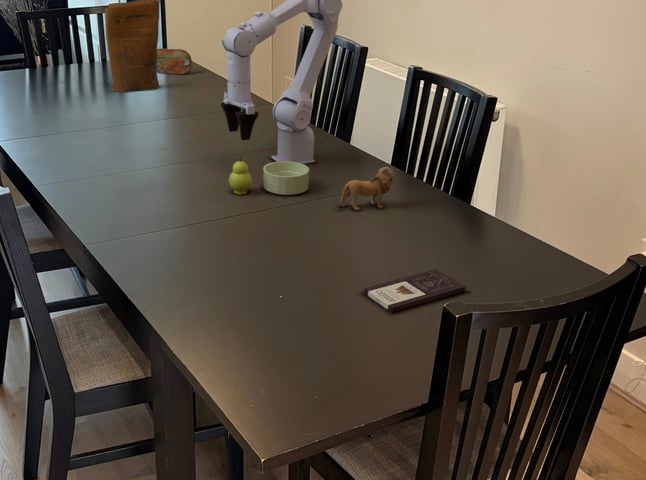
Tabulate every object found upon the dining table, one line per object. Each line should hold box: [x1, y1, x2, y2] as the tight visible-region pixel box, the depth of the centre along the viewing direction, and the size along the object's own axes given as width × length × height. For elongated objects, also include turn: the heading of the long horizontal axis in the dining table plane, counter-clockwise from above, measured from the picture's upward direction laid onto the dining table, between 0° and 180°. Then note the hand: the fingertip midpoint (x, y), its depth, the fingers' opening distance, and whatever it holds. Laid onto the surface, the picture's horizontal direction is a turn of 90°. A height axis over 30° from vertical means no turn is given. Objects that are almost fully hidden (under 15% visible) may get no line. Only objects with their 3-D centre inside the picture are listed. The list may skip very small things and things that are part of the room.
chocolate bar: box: [363, 269, 466, 313], centre depth 162 cm, size 9×1×18 cm
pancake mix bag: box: [104, 0, 160, 93], centre depth 274 cm, size 7×19×28 cm, turn 118°
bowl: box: [262, 161, 311, 196], centre depth 207 cm, size 11×11×5 cm
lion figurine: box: [336, 166, 395, 211], centre depth 197 cm, size 15×5×9 cm, turn 116°
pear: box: [228, 155, 253, 195], centre depth 202 cm, size 6×6×9 cm
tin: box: [157, 47, 193, 75], centre depth 300 cm, size 15×3×8 cm, turn 80°
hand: (239, 135), depth 212 cm, fingers open, 7 cm apart
